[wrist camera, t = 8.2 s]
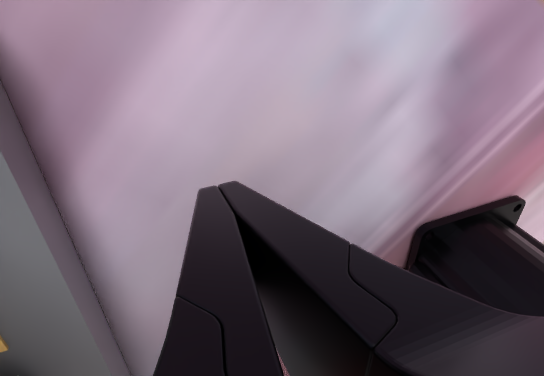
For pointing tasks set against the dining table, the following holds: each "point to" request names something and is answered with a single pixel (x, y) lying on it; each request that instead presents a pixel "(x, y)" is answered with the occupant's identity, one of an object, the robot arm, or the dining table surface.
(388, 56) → the dining table surface
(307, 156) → the dining table surface
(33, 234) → the switch panel
